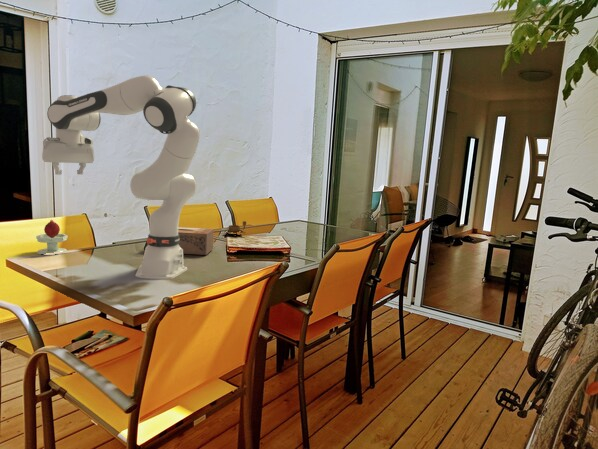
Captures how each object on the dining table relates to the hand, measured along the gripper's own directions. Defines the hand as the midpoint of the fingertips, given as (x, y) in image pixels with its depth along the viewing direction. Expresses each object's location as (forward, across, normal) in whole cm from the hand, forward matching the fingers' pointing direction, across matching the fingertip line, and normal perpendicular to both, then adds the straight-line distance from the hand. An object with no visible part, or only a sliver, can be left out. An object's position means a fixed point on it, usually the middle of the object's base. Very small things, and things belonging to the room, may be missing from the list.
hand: (69, 174), depth 170 cm
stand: (+35, +5, +18) cm, 40 cm away
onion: (+29, +5, +18) cm, 34 cm away
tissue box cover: (+36, +46, -19) cm, 61 cm away
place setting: (+36, +107, -11) cm, 113 cm away
